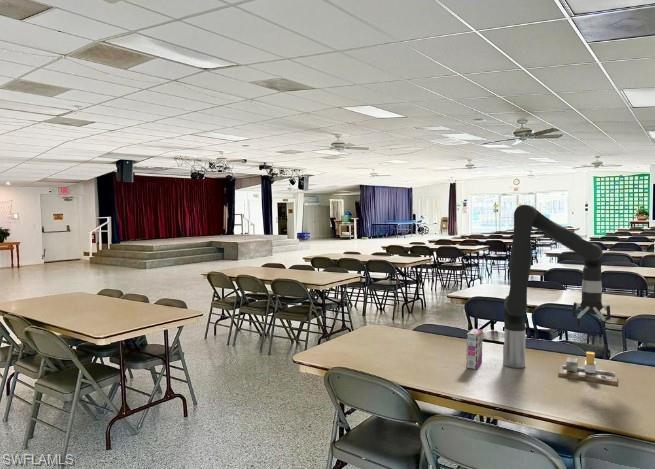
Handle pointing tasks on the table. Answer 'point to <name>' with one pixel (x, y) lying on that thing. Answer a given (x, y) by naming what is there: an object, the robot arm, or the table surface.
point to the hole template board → (586, 373)
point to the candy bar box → (474, 349)
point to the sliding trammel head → (590, 362)
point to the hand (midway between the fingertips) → (590, 327)
